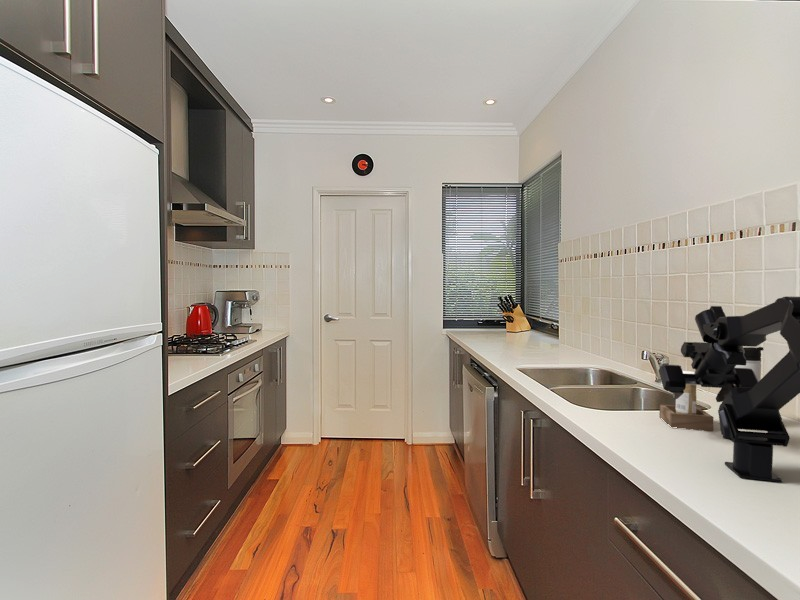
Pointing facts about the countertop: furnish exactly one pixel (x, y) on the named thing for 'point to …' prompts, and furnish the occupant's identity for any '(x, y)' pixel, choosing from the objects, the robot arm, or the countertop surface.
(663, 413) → the walnut collar
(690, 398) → the sprinkles bottle
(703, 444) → the countertop surface
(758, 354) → the travel mug
